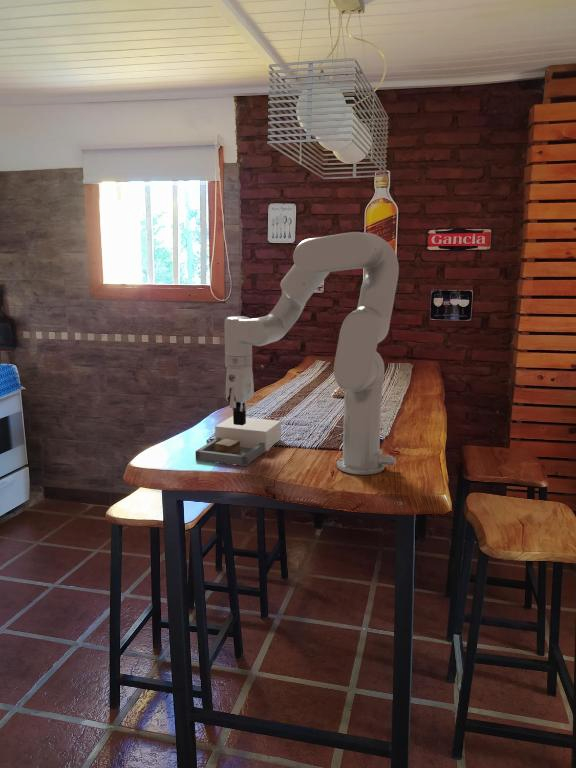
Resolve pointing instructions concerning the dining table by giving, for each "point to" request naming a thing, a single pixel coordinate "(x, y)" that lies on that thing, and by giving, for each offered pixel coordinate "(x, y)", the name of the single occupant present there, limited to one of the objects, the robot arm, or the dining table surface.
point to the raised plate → (250, 432)
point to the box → (239, 458)
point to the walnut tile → (227, 446)
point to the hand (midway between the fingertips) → (239, 424)
